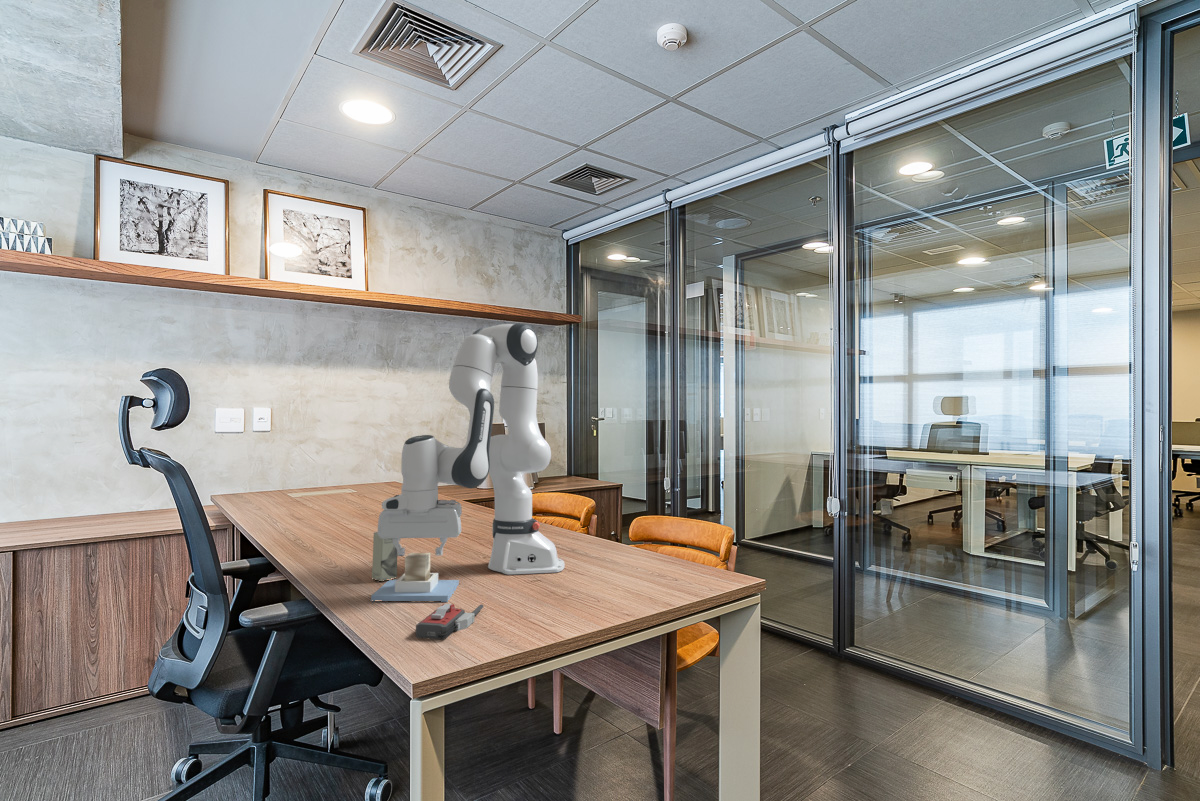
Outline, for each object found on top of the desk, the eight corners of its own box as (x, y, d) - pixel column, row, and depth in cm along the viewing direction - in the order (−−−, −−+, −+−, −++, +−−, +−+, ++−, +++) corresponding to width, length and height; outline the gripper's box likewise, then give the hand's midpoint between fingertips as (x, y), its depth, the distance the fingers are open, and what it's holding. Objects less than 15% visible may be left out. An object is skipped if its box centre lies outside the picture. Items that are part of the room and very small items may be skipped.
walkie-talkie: (453, 644, 118) (486, 612, 138) (453, 621, 118) (486, 592, 138) (410, 641, 120) (449, 609, 139) (411, 619, 120) (450, 590, 139)
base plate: (458, 585, 158) (459, 570, 158) (447, 602, 144) (447, 585, 144) (389, 585, 157) (389, 570, 157) (371, 602, 143) (371, 585, 143)
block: (429, 584, 153) (430, 553, 153) (424, 590, 148) (425, 557, 148) (409, 584, 153) (410, 552, 153) (404, 590, 148) (405, 557, 148)
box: (380, 582, 160) (381, 534, 160) (371, 580, 162) (372, 532, 163) (398, 578, 164) (399, 531, 164) (388, 576, 166) (389, 529, 167)
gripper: (463, 497, 155) (464, 551, 155) (383, 498, 154) (383, 552, 154) (459, 501, 149) (459, 557, 149) (375, 502, 148) (375, 559, 148)
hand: (420, 555), depth 151 cm, fingers open, 8 cm apart
